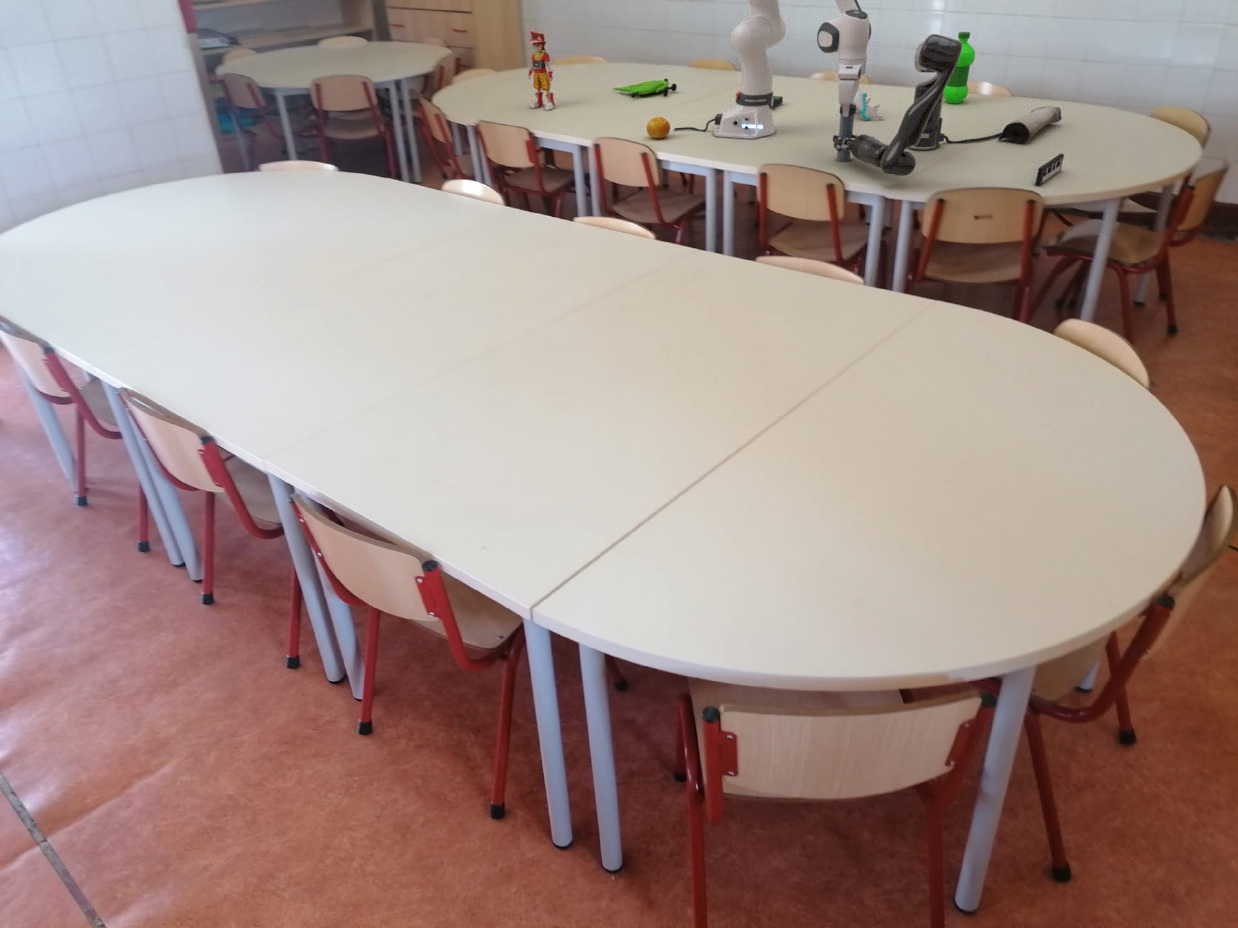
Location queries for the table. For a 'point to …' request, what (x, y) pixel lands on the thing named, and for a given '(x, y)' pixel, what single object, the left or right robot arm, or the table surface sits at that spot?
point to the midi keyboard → (1049, 169)
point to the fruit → (658, 127)
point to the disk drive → (777, 101)
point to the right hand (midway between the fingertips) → (840, 137)
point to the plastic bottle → (960, 72)
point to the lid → (851, 109)
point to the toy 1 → (541, 71)
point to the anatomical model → (865, 106)
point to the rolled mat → (1030, 124)
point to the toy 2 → (648, 88)
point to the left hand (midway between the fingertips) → (847, 113)
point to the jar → (845, 131)
